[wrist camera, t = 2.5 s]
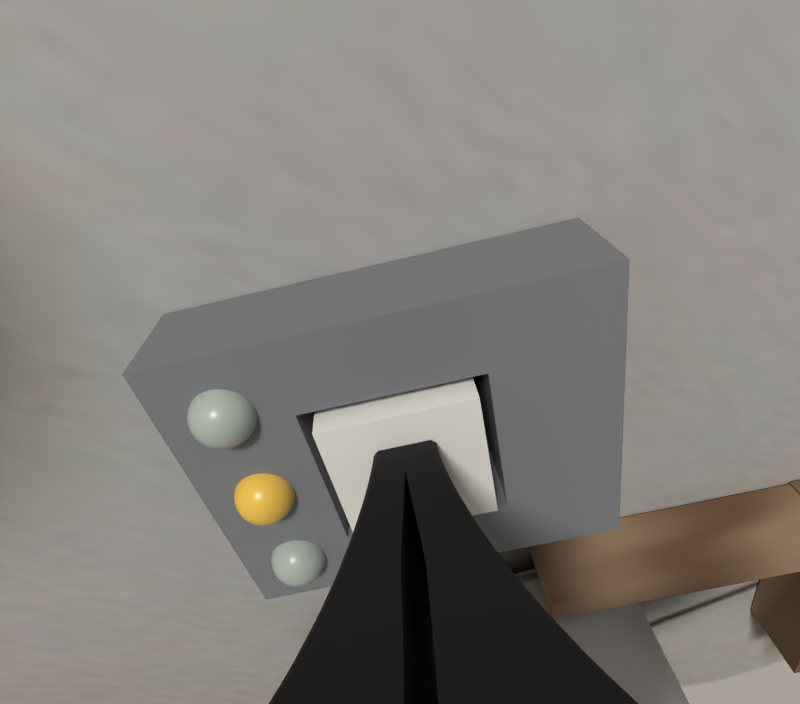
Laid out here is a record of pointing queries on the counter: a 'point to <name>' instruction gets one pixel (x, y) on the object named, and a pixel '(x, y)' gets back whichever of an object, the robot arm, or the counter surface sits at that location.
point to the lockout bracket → (687, 560)
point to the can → (619, 647)
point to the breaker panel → (401, 390)
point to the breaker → (408, 440)
